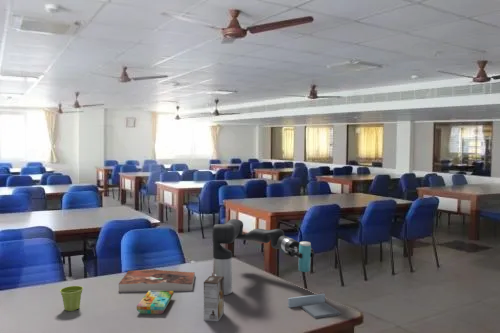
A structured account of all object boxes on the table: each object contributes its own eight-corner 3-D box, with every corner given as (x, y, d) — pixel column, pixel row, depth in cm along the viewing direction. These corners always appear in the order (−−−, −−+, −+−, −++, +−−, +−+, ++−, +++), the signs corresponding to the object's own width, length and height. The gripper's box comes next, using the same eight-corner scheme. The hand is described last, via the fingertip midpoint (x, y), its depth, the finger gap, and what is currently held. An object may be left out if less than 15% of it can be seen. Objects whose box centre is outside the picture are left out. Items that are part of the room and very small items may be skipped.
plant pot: (61, 314, 185) (60, 294, 185) (59, 306, 193) (59, 287, 193) (84, 310, 189) (84, 290, 189) (82, 303, 198) (81, 284, 197)
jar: (301, 272, 202) (302, 244, 201) (296, 268, 207) (297, 241, 206) (312, 271, 204) (313, 243, 203) (306, 267, 209) (307, 240, 208)
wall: (288, 307, 194) (289, 298, 194) (288, 306, 195) (288, 298, 195) (324, 302, 200) (324, 294, 200) (323, 302, 201) (323, 293, 201)
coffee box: (209, 312, 189) (209, 275, 188) (224, 313, 187) (224, 276, 187) (203, 320, 180) (203, 281, 179) (218, 321, 178) (218, 282, 178)
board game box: (194, 277, 240) (194, 268, 239) (192, 291, 216) (192, 281, 216) (128, 278, 237) (128, 268, 237) (118, 292, 214) (118, 282, 214)
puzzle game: (136, 304, 185) (148, 288, 205) (136, 315, 185) (148, 298, 205) (164, 304, 185) (173, 289, 205) (164, 315, 185) (173, 299, 205)
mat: (314, 318, 182) (314, 316, 182) (300, 307, 195) (300, 305, 194) (339, 314, 186) (340, 312, 186) (324, 304, 199) (324, 302, 199)
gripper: (303, 253, 221) (320, 262, 205) (277, 255, 216) (293, 265, 200) (304, 238, 220) (321, 246, 204) (278, 240, 215) (293, 248, 199)
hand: (307, 255), depth 202 cm, fingers closed on jar, 5 cm apart
